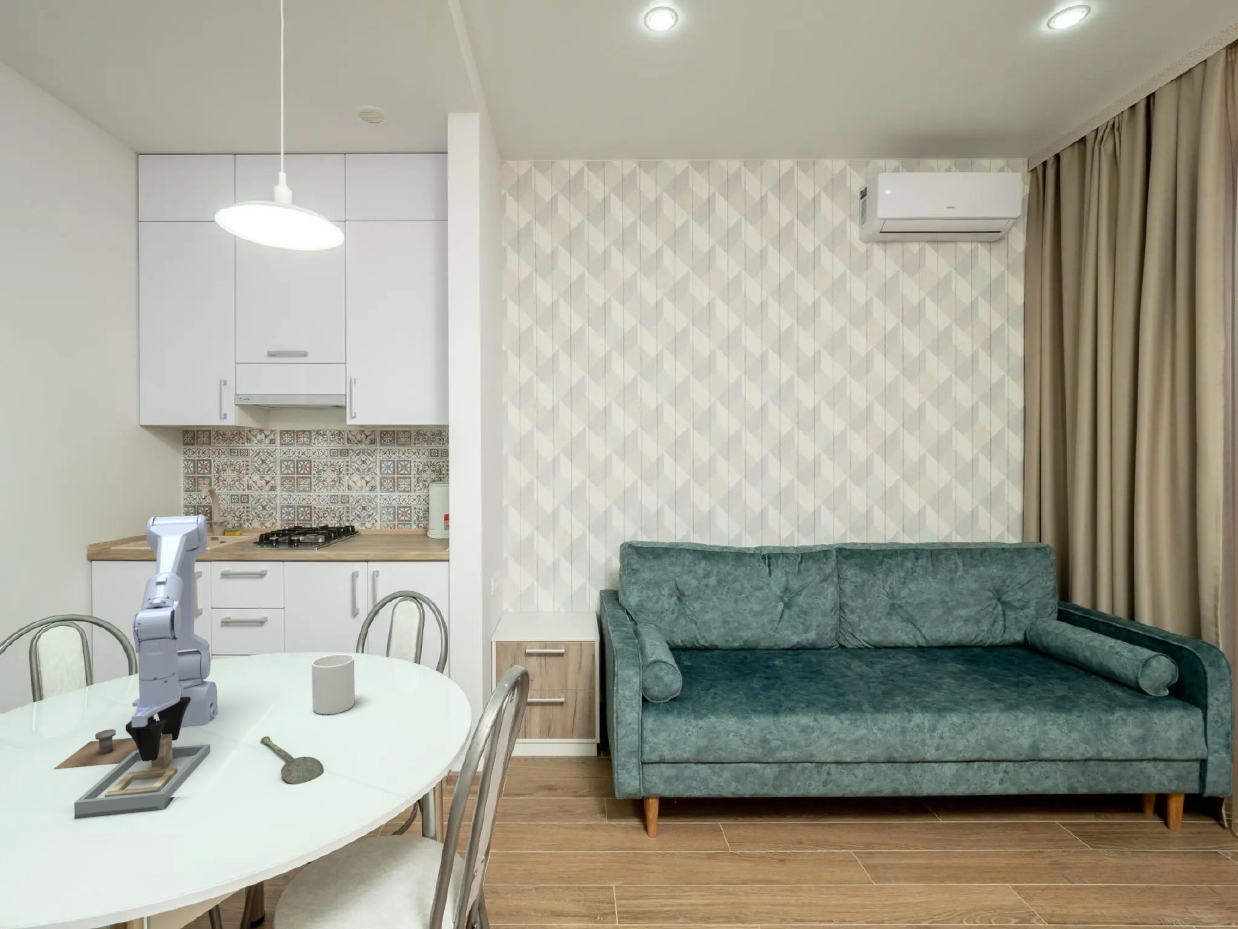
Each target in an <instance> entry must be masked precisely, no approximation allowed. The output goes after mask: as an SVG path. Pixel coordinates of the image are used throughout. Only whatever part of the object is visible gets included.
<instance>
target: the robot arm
mask: <svg viewBox="0 0 1238 929" xmlns="http://www.w3.org/2000/svg"><path fill="white" fill-rule="evenodd" d="M146 523H147V524H146V532H145V534H146V542H147V544H148V545H149V547H150V549H151V551H152V552H153V554H154V556H156V562H155V574H154V575H152V576H151V577H150V578H148V579H147V581H146V583H145V589H144V593H143V596H142V597H143V598H142V603H141V607H140V611H139V612H135V614H134V617H133V620H132V637H133V640H134V647H135V653H136V654H138V655H137V656H138V658H137V660H138V663H137V664H138V690H139V692H138V693H139V697H138V698H137V699H135V700H134V701H132V703H131V706H132V707H136V709H135V712H134V713H133V714H132V716H131V720H130V721H129V722H127V723H126V725H125V731H126V733H128V735H129V736H130V738H133V740H134V741H135V743H136V745H137V748H138V750H139V753H140V756H141V759H142V760H141V761H142V762H152V761H153V760H156V759H157V758H158V754H159V747H160V738H161V735H164V734H172V742H173V741H174V742H175V741H177V740H178V739H179V736H180V732H181V729H182V728H189V727H190V728H191V727H199V726H200V727H201V726H207V725H208V724H209V723H210V721H212V720H213V719H214V718H215V717H216V716H217V715H218V712H219V711H218V688H217V684H216V682H215V681H208V680H207V681H206V679H207V678H208V677H209V676H210V674H211V661H212V659H211V652H210V644H209V641H207V640H206V639H205V638H203V637H201V636H199V635H197V634H196V633H195V566H196V562H197V559H198V558H197V557H199V556H200V555H201V556H202V554H205V553H206V552H207V548H208V522H207V518H206V516H204V515H203V514H199V515H178V516H157V517H156V516H151V517H150V518H149V519H148V520H147V522H146ZM155 715H157V716H158V720H157V719H156V718H155Z"/></svg>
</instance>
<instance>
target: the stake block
mask: <svg viewBox="0 0 1238 929" xmlns="http://www.w3.org/2000/svg"><path fill="white" fill-rule="evenodd" d="M116 732H117V731H116V729H109V728H108V729H105V730H101V731H99V732H97V733H95V740H91V741H89V742H87V743H86V744H85V745H82V747H80V749H78V750H76V752H74V753H73V754H72V755H70V756H69V757H68V758H67V757H66V759H64V760H63V761H62V762H61V763H59V764H58V765H57V766H55V767H54V768H53V770H62V769H73V768H74V769H75V768H85V767H95V766H96V767H97V766H107V765H116V764H117V765H118V764H119V763H121V762H122V761H123V760H124V759H125V758H126V757H128V756H129V755H130V754H131V753H132V752H133V751H137V750H138V748H137V745H136V743H135V741H134V740H133V738H132V737H127V738H125V737H124V738H115V739H113V737H115V736H116V734H117V733H116Z"/></svg>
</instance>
